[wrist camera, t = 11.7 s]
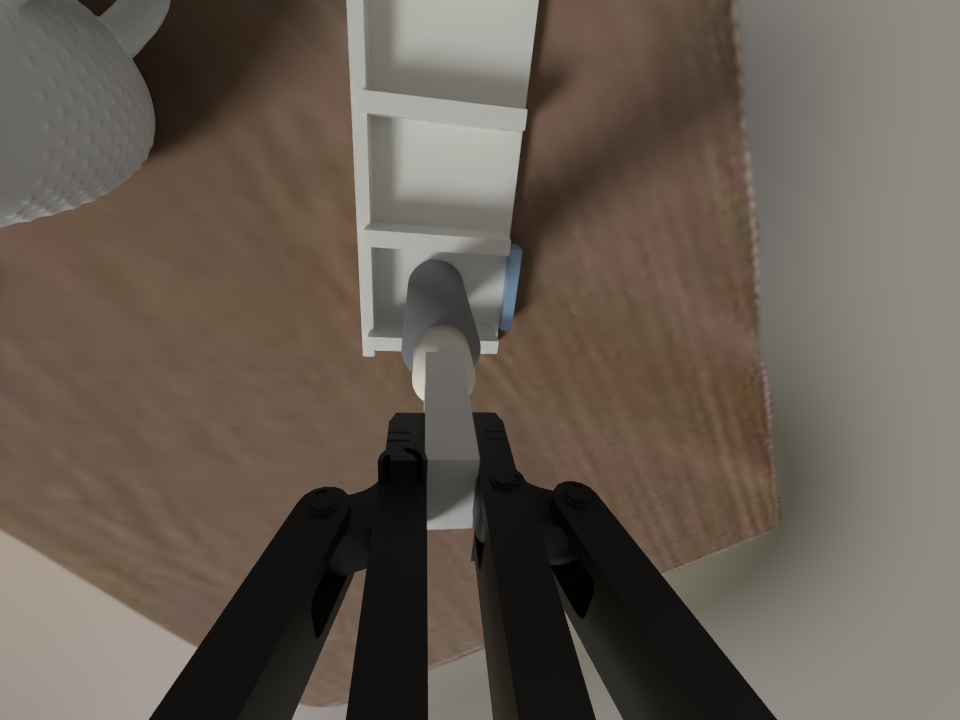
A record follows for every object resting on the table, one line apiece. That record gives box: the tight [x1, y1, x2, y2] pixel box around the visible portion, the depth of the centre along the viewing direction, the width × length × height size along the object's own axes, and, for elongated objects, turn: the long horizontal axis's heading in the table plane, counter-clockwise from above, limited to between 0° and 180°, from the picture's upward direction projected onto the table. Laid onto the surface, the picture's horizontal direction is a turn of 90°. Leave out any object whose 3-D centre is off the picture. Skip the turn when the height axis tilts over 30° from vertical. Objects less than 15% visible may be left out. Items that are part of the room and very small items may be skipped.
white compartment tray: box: [346, 0, 539, 357], centre depth 25 cm, size 24×11×4 cm, turn 175°
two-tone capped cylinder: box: [401, 260, 481, 401], centre depth 23 cm, size 4×4×13 cm
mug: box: [0, 0, 171, 228], centre depth 17 cm, size 15×11×13 cm
